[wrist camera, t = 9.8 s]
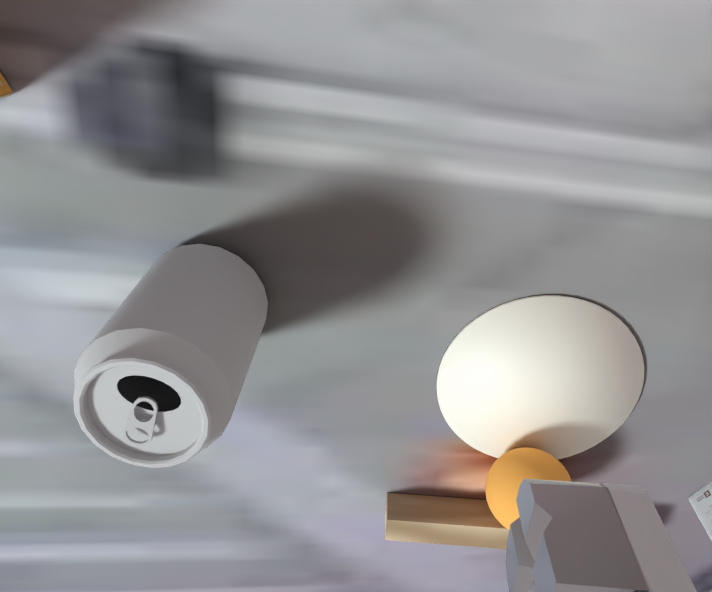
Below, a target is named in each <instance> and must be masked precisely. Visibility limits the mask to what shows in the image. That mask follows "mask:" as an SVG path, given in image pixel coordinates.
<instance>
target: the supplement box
mask: <svg viewBox="0 0 712 592" xmlns="http://www.w3.org/2000/svg"><path fill="white" fill-rule="evenodd" d="M689 501H690V503H691V505H692V507H693V508H694V510H695V512H696V514H697V516H698V517H699V519H700V521H701V523H702V524H703V526H704V528H705V530H706V531H707V533H708V535H709V537H710V539H711V541H712V482H711V483H709V484H708V485H706V486H705V487H703V488H702V489H700V490H699V491H697V492H696V493H694V494H693V495H691V496H690V497H689Z"/></svg>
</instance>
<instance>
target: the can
mask: <svg viewBox="0 0 712 592" xmlns="http://www.w3.org/2000/svg"><path fill="white" fill-rule="evenodd" d="M267 308H268V301H267V297H266V292H265V288H264V285H263V284H262V282H261V280H260V279H259V277H258V276H257V274H256V272H255V271H254V269H252V268H251V267H250V266H249V265H248V264H247V263H246V262H245V261H243V260H242V259H241V258H240V257H239V256H237V255H235V254H233V253H231V252H229V251H227V250H225V249H223V248H221V247H216V246H210V245H204V244H193V245H184V246H179V247H177V248H175V249H173V250H171V251H169V252H166V253H164V254H163V255H162V256H161V257H160V258H159V259H158V260H157V261H156V262H155V263H154V264H153V265H152V266H151V268H150V269H149V270H148V271H147V273H146V274H145V275H144V276H143V278H142V279H141V280H140V281H139V283H138V284H137V285H136V286H135V288H134V289H133V290H132V291H131V293H130V294H129V295H128V296H127V298H126V299H125V300H124V301H123V303H122V304H121V305H120V306H119V308H118V309H117V310H116V311H115V313H114V314H113V315H112V316H111V318H110V319H109V320H108V321H107V322H106V324H105V325H104V326H103V327H102V329H101V330H100V331H99V332H98V334H97V335H96V336H95V337H94V339H93V340H92V341H91V342H90V344H89V345H88V346H87V347H86V349H85V350H84V351H83V352H82V354H81V355H80V358H79V361H78V364H77V366H76V369H75V372H74V381H75V393H74V395H73V398H74V413H75V415H76V417H77V420H78V422H79V424H80V427H81V429H82V430H83V431H84V433H85V434H86V435H87V436H88V437H89V438H90V440H91V441H92V442H93V443H94V444H95V445H96V446H98V447H99V448H100V449H102V450H103V451H105V452H106V453H108V454H109V455H110V456H112V457H114V458H117V459H119V460H121V461H124V462H126V463H129V464H131V465H137V466H143V467H149V468H159V467H172V466H175V465H178V464H180V463H183V462H186V461H189V460H190V459H191V458H193V457H194V456H195V455H196V454H197V453H199V452H200V451H201V450H202V449H205V448H207V447H208V446H209V445H210V444H212V443H213V442H214V441H215V440H217V439H218V438H219V437H220V436H221V435H222V433H223V432H224V430H225V428H226V426H227V424H228V423H229V421H230V419H231V416H232V413H233V411H234V408H235V405H236V402H237V399H238V397H239V394H240V391H241V388H242V385H243V383H244V380H245V377H246V374H247V372H248V369H249V366H250V363H251V360H252V358H253V355H254V352H255V349H256V347H257V344H258V341H259V338H260V335H261V333H262V330H263V327H264V324H265V322H266V317H267Z"/></svg>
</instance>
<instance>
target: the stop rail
mask: <svg viewBox="0 0 712 592" xmlns="http://www.w3.org/2000/svg"><path fill="white" fill-rule="evenodd" d="M508 534H509V530H508V529H507V528H505V527H504V526H503V525H502V524H501V523H500V522H499V521H498V520H497V519H496V518H495V517H494V515H493V514H492V512H491V510H490V508H489V506H488V503H487V500H479V499H466V498H452V497H438V496H425V495H411V494H398V493H387V502H386V513H385V540H394V541H407V542H420V543H434V544H447V545H460V546H473V547H487V548H500V549H507V539H508Z"/></svg>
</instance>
